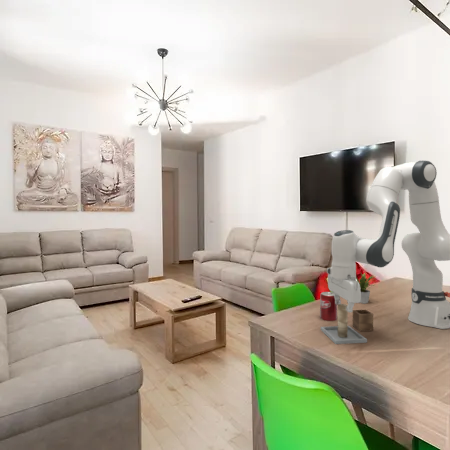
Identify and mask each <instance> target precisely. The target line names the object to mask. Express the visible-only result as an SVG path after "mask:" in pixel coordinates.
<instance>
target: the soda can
mask: <svg viewBox="0 0 450 450" xmlns="http://www.w3.org/2000/svg"><path fill="white" fill-rule="evenodd" d="M319 296H320V298H319V299H320V300H319V301H320V302H319V303H320V305H319V306H320V307H319V308H320V309H319V310H320V311H319V318H320V319H321V320H322V321H327V322H334V321H338V305H337V304H335V298H334V292H332V291H331V292H330V291H323V292H321V293H320V295H319Z"/></svg>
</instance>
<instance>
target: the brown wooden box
mask: <svg viewBox="0 0 450 450" xmlns="http://www.w3.org/2000/svg"><path fill="white" fill-rule="evenodd" d="M352 326H353V327H352ZM352 326H351V327H352V328H355V329H356V330H357V331H359V332H361V331H362V332H366V331H374V313H372V312H371V311H369V310H368V309H353V312H352Z"/></svg>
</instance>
